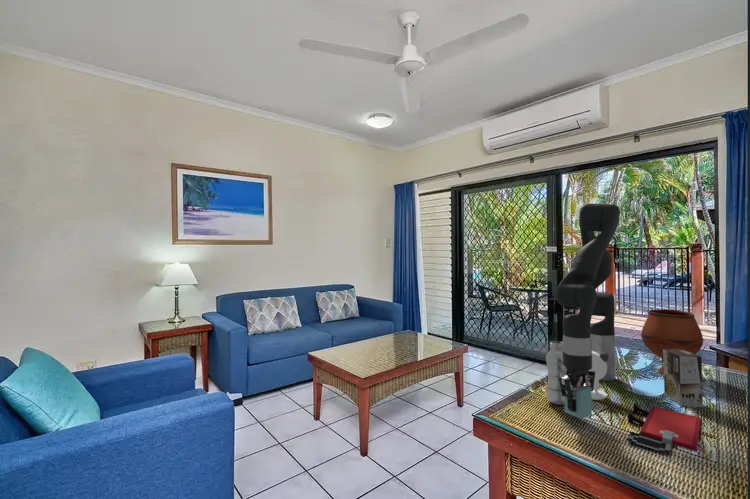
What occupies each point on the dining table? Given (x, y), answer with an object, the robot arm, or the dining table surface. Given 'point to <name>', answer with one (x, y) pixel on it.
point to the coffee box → (683, 377)
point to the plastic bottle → (555, 373)
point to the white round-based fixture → (599, 373)
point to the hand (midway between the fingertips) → (578, 408)
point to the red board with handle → (665, 429)
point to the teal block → (581, 402)
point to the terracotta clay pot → (671, 332)
